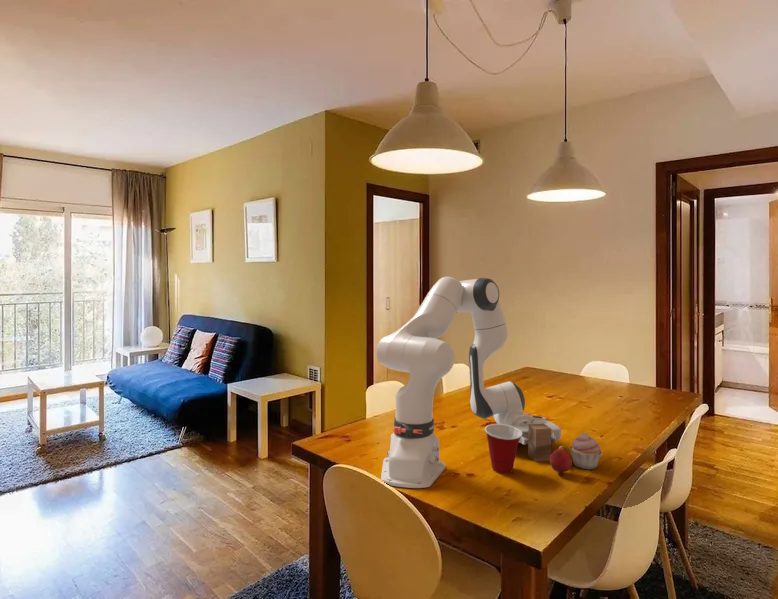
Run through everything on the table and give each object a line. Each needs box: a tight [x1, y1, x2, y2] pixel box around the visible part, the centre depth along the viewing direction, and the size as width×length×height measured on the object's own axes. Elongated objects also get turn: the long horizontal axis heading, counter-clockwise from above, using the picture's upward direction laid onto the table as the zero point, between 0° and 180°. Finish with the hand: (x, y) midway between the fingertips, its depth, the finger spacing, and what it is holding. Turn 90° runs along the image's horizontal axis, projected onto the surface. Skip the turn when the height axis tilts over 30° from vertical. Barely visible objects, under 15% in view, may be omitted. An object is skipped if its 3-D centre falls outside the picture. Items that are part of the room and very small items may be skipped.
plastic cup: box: [484, 423, 522, 474], centre depth 137 cm, size 11×11×12 cm
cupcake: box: [568, 432, 603, 470], centre depth 140 cm, size 9×9×10 cm
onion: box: [549, 445, 573, 475], centre depth 134 cm, size 6×6×8 cm
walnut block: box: [527, 424, 552, 462], centre depth 146 cm, size 5×5×10 cm
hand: (540, 441), depth 145 cm, fingers open, 8 cm apart
